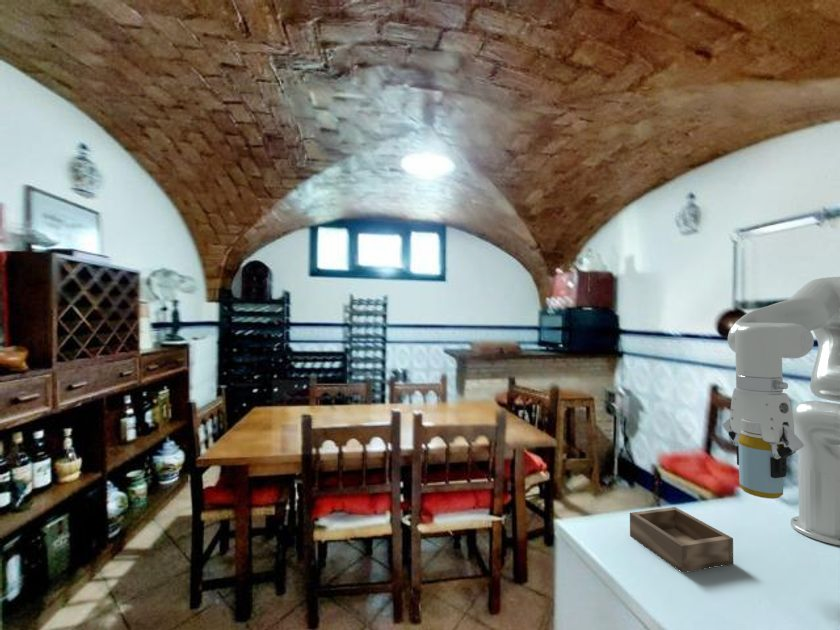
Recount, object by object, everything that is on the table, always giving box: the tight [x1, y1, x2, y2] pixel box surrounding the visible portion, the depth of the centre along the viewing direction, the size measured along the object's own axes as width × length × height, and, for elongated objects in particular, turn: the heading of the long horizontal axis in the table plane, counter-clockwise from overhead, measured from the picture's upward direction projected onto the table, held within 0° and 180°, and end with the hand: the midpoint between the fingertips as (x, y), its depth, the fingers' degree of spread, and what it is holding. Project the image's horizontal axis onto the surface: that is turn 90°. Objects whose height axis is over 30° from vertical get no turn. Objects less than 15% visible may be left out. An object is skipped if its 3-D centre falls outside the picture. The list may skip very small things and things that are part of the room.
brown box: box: [629, 506, 734, 573], centre depth 94 cm, size 13×15×6 cm
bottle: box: [738, 419, 784, 500], centre depth 86 cm, size 7×7×15 cm
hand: (760, 469), depth 86 cm, fingers closed on bottle, 6 cm apart
